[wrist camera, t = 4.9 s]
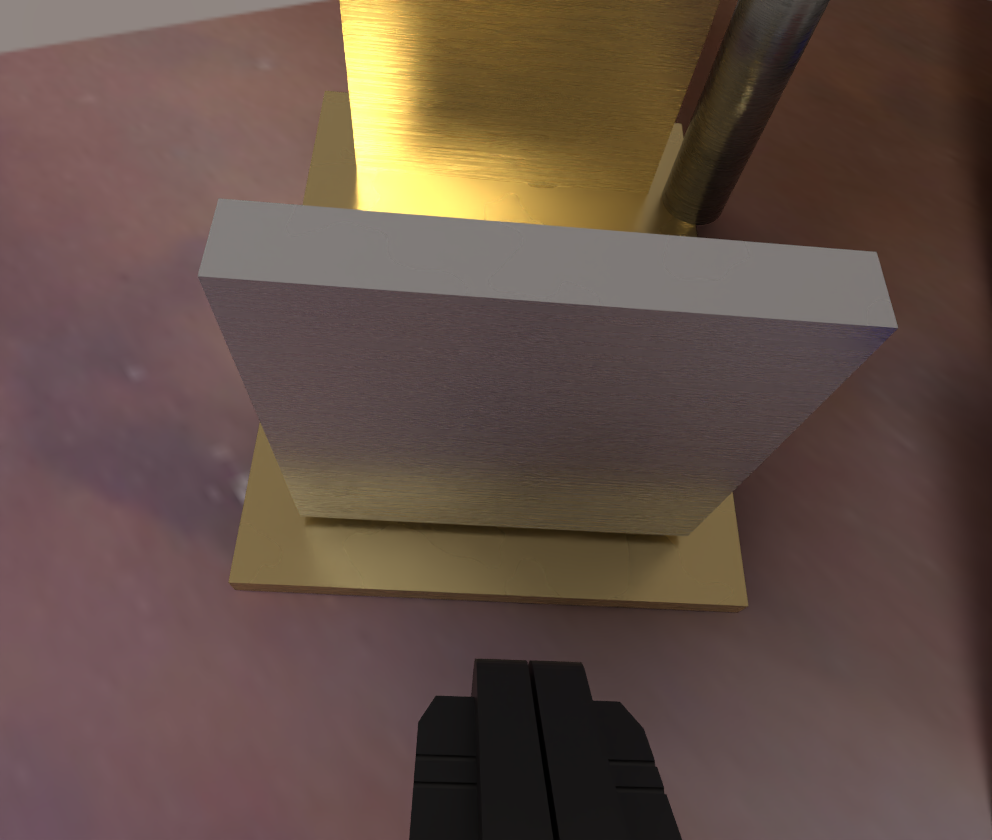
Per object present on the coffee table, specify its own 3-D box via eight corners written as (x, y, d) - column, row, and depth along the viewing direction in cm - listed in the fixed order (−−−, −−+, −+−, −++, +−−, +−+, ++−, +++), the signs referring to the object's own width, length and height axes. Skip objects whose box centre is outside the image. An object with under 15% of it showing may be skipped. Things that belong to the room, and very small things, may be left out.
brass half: (702, 141, 23) (869, -249, 15) (776, 614, 16) (1180, 403, 8) (327, 107, 22) (267, -328, 14) (235, 589, 15) (-3, 323, 7)
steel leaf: (682, 485, 17) (877, 252, 9) (687, 536, 16) (898, 328, 9) (308, 465, 16) (218, 198, 9) (300, 516, 15) (197, 276, 8)
